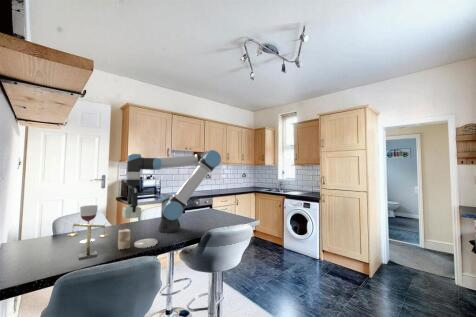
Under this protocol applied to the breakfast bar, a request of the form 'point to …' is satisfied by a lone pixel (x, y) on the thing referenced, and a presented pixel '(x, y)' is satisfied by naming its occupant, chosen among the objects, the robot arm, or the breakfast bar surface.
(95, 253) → the balance
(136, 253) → the breakfast bar surface
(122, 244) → the block
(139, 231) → the breakfast bar surface
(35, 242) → the breakfast bar surface
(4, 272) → the breakfast bar surface
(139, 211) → the pale green open box
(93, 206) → the wineglass
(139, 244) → the dish
